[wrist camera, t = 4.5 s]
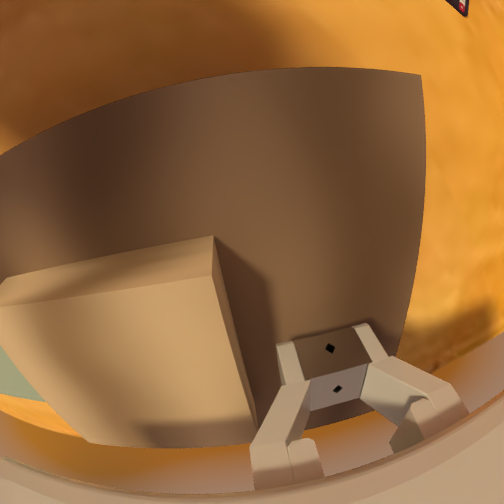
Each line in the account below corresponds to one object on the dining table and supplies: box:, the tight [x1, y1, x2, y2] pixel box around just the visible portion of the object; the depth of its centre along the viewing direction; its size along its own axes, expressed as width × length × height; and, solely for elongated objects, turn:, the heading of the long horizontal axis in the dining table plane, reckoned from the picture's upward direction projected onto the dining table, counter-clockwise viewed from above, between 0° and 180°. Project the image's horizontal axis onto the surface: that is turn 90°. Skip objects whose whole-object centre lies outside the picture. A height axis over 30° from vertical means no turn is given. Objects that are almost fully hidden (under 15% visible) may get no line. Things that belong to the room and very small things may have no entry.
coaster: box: [0, 235, 259, 448], centre depth 8 cm, size 8×8×2 cm
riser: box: [0, 67, 426, 430], centre depth 11 cm, size 17×16×4 cm
